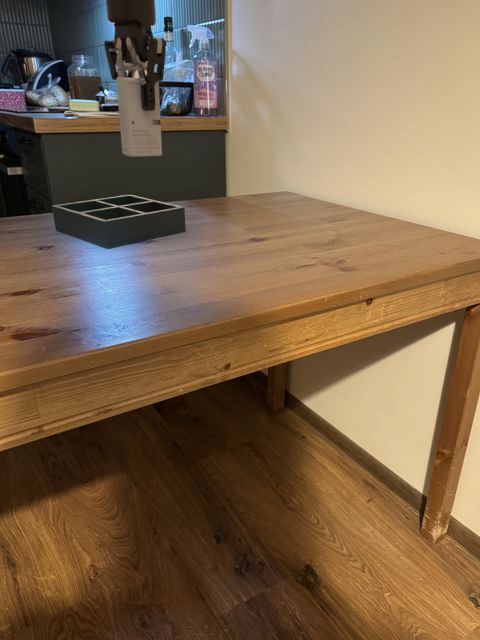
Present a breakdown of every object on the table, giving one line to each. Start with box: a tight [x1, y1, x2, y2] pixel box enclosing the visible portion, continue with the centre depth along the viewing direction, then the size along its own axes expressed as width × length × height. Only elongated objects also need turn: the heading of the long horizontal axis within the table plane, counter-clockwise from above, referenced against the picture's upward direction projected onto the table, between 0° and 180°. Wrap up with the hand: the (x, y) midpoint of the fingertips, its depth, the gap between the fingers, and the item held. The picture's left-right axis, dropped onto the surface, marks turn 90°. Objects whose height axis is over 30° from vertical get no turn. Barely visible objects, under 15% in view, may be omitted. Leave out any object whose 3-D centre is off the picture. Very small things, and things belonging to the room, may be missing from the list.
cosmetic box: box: [115, 77, 163, 158], centre depth 86 cm, size 6×4×12 cm
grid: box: [51, 194, 187, 249], centre depth 94 cm, size 17×17×5 cm
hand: (139, 109), depth 85 cm, fingers closed on cosmetic box, 4 cm apart
